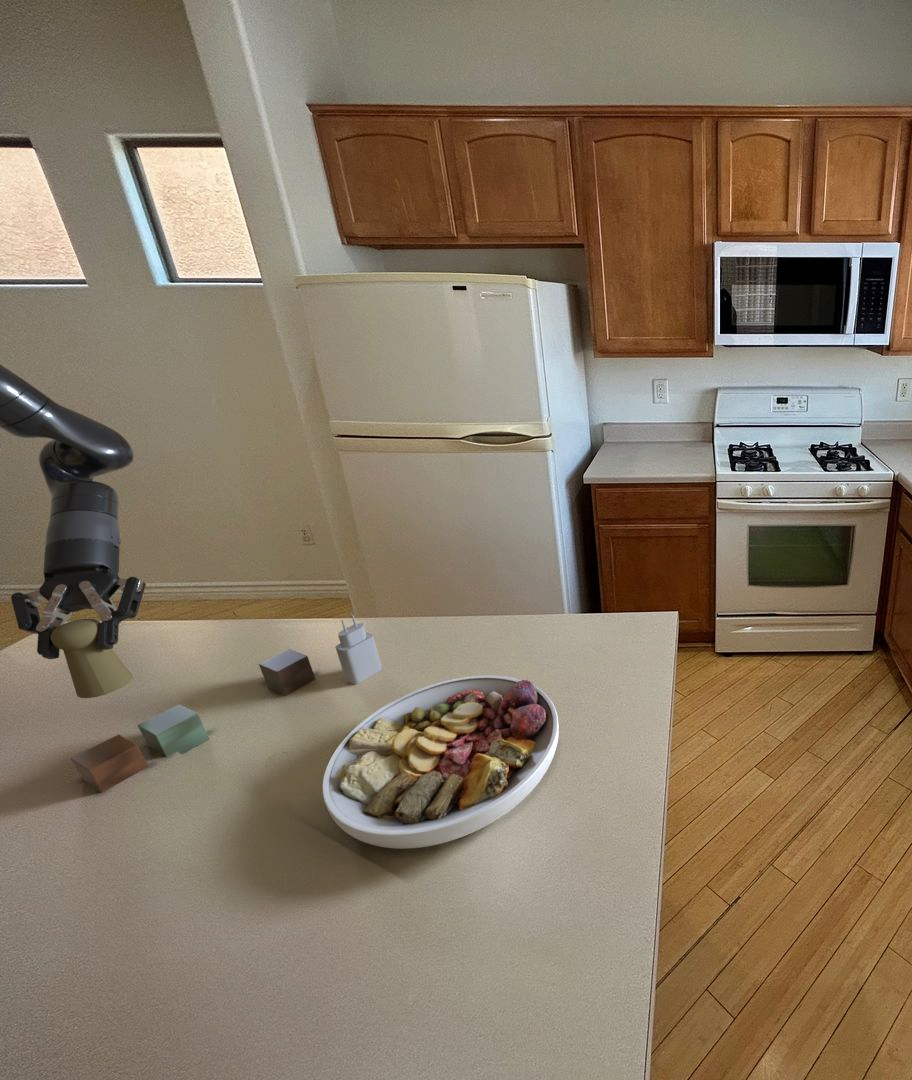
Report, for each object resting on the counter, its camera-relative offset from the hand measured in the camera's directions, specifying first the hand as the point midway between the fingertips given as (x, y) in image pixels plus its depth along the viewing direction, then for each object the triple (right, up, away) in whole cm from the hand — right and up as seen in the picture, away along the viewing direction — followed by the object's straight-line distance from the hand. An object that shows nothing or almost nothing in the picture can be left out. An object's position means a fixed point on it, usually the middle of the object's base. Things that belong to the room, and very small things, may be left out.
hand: (78, 652), depth 80 cm
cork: (-1, -6, +4) cm, 8 cm away
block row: (+13, -13, +7) cm, 20 cm away
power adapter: (+29, -8, +20) cm, 36 cm away
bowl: (+55, -17, 0) cm, 57 cm away
